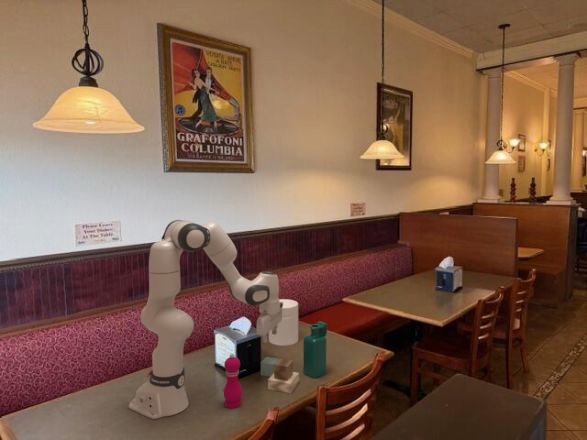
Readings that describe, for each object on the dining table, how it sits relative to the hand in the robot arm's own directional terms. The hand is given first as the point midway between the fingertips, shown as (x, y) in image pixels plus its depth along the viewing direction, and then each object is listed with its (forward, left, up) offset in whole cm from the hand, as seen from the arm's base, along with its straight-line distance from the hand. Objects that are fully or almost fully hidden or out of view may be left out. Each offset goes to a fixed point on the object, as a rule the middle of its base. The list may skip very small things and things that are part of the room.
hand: (270, 337), depth 183 cm
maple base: (+10, -8, -16) cm, 21 cm away
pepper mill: (-3, -28, -16) cm, 33 cm away
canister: (-9, +38, -16) cm, 42 cm away
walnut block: (+10, -8, -12) cm, 18 cm away
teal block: (0, 0, -16) cm, 16 cm away
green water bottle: (+19, +8, -16) cm, 26 cm away
